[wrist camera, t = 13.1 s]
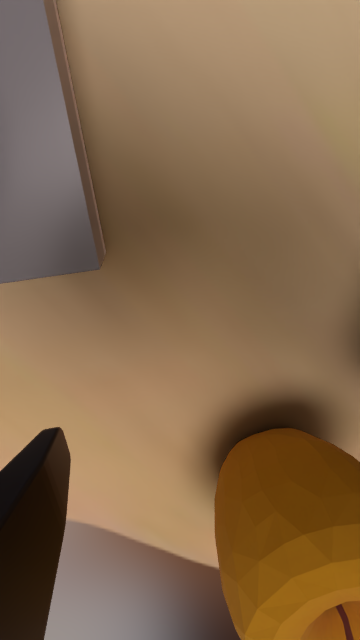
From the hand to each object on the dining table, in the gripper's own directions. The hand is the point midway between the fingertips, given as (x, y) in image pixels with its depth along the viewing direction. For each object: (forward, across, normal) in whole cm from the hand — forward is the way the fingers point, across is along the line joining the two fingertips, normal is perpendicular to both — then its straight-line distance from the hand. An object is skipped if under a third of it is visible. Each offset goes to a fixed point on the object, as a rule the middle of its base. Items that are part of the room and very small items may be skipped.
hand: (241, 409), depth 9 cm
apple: (+13, -5, +15) cm, 21 cm away
